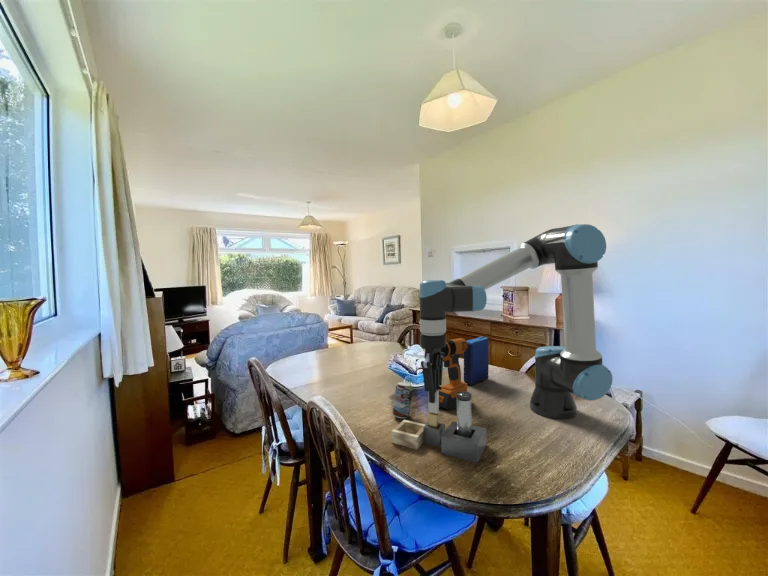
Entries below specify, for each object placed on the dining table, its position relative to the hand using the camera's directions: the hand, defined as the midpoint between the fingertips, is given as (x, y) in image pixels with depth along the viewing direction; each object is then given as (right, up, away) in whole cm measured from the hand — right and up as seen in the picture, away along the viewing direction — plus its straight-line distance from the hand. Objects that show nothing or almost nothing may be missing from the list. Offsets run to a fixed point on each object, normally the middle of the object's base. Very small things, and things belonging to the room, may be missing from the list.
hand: (433, 411), depth 101 cm
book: (+27, -6, +54) cm, 61 cm away
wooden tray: (-7, -10, +2) cm, 12 cm away
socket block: (+5, -10, -2) cm, 12 cm away
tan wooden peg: (0, -8, +1) cm, 8 cm away
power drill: (+10, -8, +29) cm, 31 cm away
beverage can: (-8, -9, +20) cm, 24 cm away
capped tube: (+8, -9, -4) cm, 13 cm away
